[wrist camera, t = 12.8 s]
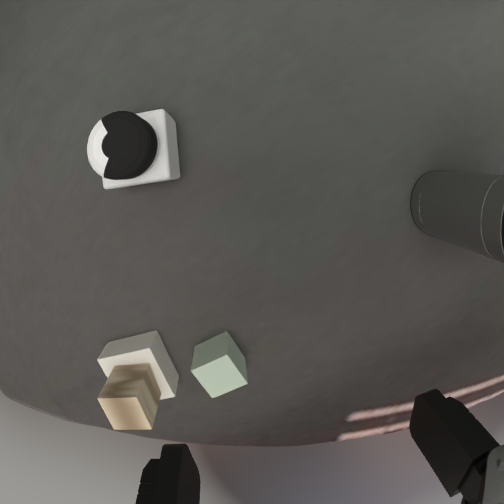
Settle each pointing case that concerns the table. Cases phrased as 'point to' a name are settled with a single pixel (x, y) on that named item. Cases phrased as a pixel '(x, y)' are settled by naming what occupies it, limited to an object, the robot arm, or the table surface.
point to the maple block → (131, 397)
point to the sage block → (219, 365)
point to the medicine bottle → (134, 148)
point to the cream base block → (142, 359)
